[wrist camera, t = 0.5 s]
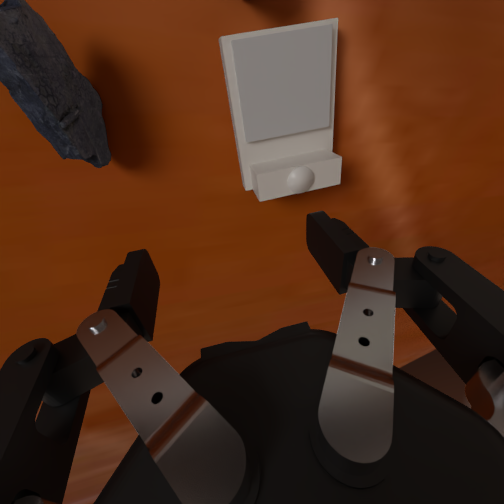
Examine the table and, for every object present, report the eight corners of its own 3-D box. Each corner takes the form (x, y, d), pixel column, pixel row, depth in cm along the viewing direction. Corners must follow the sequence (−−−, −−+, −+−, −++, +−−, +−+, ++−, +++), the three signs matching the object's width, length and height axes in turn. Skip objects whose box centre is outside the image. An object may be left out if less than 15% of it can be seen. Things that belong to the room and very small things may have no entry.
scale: (218, 39, 28) (226, 28, 22) (328, 21, 29) (363, 6, 23) (243, 185, 38) (252, 204, 32) (324, 167, 39) (348, 183, 33)
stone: (139, 144, 32) (122, 165, 24) (99, 166, 33) (69, 193, 25) (47, 5, 24) (-25, -33, 16) (-5, 36, 25) (-101, 14, 17)
